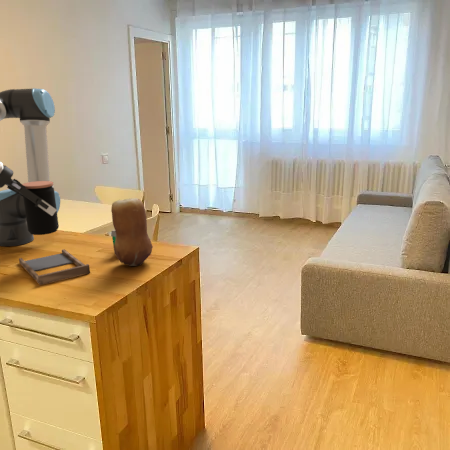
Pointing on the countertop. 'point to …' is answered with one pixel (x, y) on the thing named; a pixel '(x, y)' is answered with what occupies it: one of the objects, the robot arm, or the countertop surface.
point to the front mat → (48, 262)
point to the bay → (58, 275)
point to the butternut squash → (131, 231)
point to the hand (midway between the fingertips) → (49, 210)
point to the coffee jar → (37, 217)
